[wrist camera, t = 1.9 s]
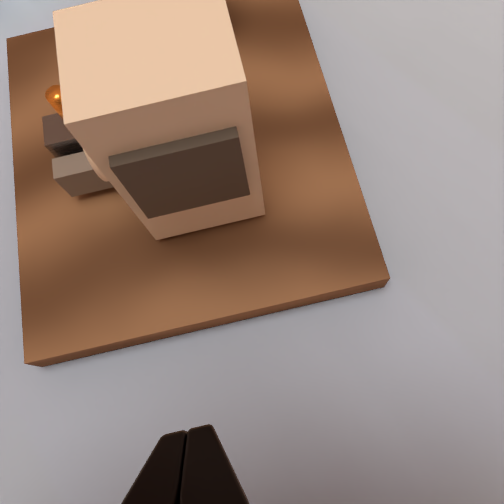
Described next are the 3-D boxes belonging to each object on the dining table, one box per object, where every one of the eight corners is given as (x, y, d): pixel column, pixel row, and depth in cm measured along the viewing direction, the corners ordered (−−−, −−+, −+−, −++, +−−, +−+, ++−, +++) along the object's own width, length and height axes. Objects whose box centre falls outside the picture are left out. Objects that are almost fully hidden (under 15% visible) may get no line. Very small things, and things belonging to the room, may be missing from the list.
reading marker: (131, 158, 22) (94, 100, 18) (69, 172, 22) (18, 118, 18) (127, 131, 23) (90, 69, 19) (66, 145, 23) (16, 86, 19)
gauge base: (383, 287, 22) (427, 225, 14) (41, 366, 22) (-80, 344, 15) (288, -7, 27) (287, -152, 20) (21, 57, 28) (-73, -65, 21)
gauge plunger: (267, 222, 21) (249, 93, 12) (80, 266, 21) (-64, 167, 13) (246, 139, 22) (217, -29, 14) (72, 180, 22) (-63, 39, 14)
